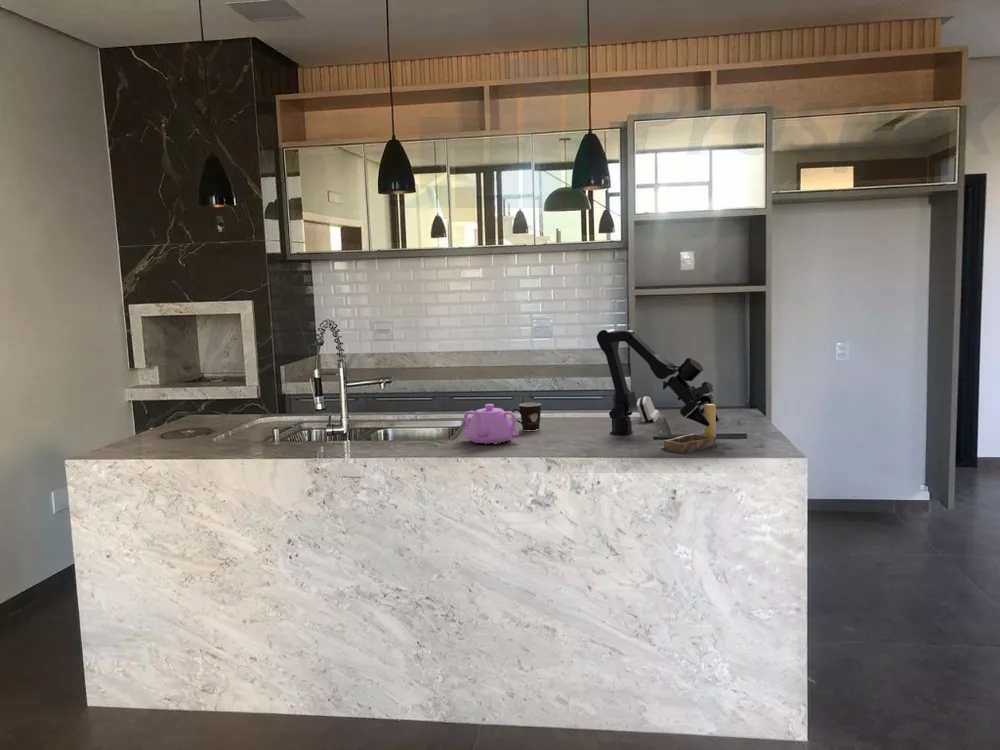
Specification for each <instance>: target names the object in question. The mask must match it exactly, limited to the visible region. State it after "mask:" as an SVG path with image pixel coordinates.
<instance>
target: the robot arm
mask: <svg viewBox="0 0 1000 750" xmlns="http://www.w3.org/2000/svg"><path fill="white" fill-rule="evenodd" d="M596 341H597V343H598V346H599V348H600V350H601V351H602V352H603V353H604V355H605V357H606V358H605V359H606V361H607V365H608V369H609V373H610V377H611V380H612V384H613V389H614V399H613V401H614V407H613V408H612V409H610V411H609V412H608V416H609V418H610V419H611V431H609V434H612V435H621V436H626V435H628V434H632V433H633V432H634V431H633V430H632V429H633V428H632V427H633V425H632V420H631V416H632V415H633V411H634V410H636V408H637V402H638V399H637V398H636V393H635V391H631V390H630V389H629V387H628V384H627V380H626V377H625V373H624V369H623V365H622V361H621V358H620V354H619V346H620V343H621V342H626V343H627V345H628V346H629V347H630V348H631V349H633V350H634V352H636V353H637V354H638V355H639V356H640V358H642V360H644V361H645V362H646V363H647V364H648V366H649V368H650V371H651V372H652V373H653V375H654V376H655V377H656V379H657V378H658V379H659V380H664V381H662V383H663V384H662V390H666V389H670V390H672V392H673V393H674V394H675V395H676V396H677V400H678V401H681V402H682V403H683V404H684V405H683V406H682V407H681V408H680V410H679V413H680V415H681V416H682V417H683V418H685V419H688V420H691V421H693V422H696V423H699V424H700V425H702V426H704V425H705V426H707V427H708V426H709V425H710V424H709V422H708V421H707V419H706V418H705V416H704V404H714V396H712V394H711V393H712V392H713V391H714V389H713V387H714V385H713V384H712V383H711V382H709V381H707V380H706V381H704V382H702V383H701V385H700V386H699V387H695V386H693V385H690V384H689V383H688V382H693V381H694V380H695V379H696V378H697V377H698V376H699V375H700V374H701V373H703V371H704V367H703V366H702V365H701V364H700V362H698V361H697V360H695V359H693V358H691V357H689V356H688V357H687V358H686V359H685V360H684V362H683V363H681V364H680V365H675V364H674V363H672V361H670V360H669V359H667V358H666V357H663V356H661V355H659V354H658V353H656V352H655V351H654V350H653V349H652V348H651V347H650V346H649V345H648V344H647V343H646V342H645V341H644V340H642V339H641V337H639V335H637V333H635V331H634V330H632V329H629V330H628V329H627V330H615V329H614V328H607V329H602V330H599V332H598V333H597V335H596ZM673 375H675V376H673ZM667 378H668V380H665V379H667ZM719 420H720V419H719V416H718V414H717V413H716V423H717V422H719Z"/></svg>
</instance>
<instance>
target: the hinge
mask: <svg viewBox="0 0 1000 750" xmlns="http://www.w3.org/2000/svg"><path fill="white" fill-rule="evenodd" d="M637 401H638V402H636V408H637V410H638V413H639V416H640V419H641V422H642V423H645V422H647V421H651V420H652V421H653V423H656V422H657V420H658V418H659V417H658V415H659V414H660V411H659V410H658V409H656V408H655V406H654V403H653V401H652V399H651V397H650V396H648V395H647V396H643V397H640V398H638V399H637ZM659 416H660V415H659Z"/></svg>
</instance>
